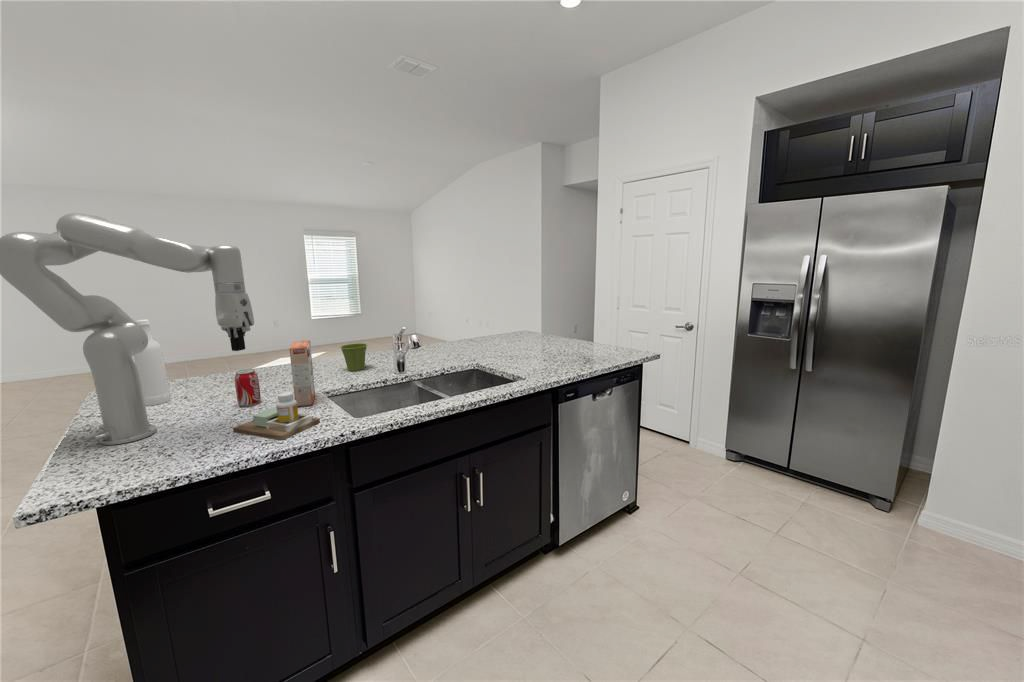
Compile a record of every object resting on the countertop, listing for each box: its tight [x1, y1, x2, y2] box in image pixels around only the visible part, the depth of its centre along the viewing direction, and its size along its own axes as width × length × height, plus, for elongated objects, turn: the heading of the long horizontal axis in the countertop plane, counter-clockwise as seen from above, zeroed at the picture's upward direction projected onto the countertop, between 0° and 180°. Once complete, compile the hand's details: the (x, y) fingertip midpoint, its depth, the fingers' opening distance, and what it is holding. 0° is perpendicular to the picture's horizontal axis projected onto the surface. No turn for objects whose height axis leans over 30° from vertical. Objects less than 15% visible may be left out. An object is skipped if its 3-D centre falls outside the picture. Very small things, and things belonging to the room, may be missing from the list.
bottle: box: [133, 319, 171, 407], centre depth 151 cm, size 8×8×30 cm
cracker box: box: [289, 339, 316, 408], centre depth 151 cm, size 14×6×21 cm, turn 22°
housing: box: [252, 406, 277, 427], centre depth 128 cm, size 8×5×3 cm, turn 160°
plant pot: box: [339, 342, 368, 372], centre depth 195 cm, size 12×12×11 cm
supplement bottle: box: [275, 391, 299, 424], centre depth 125 cm, size 5×5×10 cm
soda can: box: [234, 368, 262, 407], centre depth 149 cm, size 7×7×12 cm
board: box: [232, 413, 321, 441], centre depth 128 cm, size 14×19×3 cm
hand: (238, 349), depth 128 cm, fingers closed
